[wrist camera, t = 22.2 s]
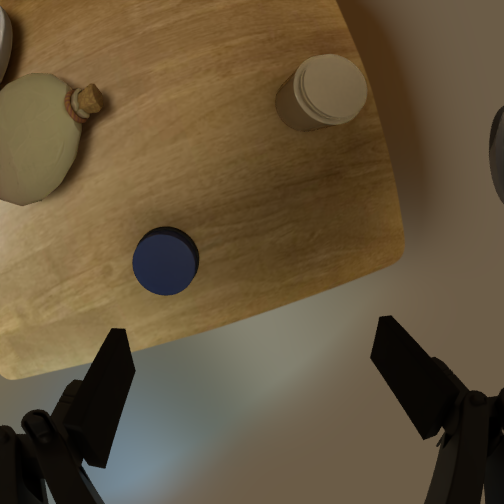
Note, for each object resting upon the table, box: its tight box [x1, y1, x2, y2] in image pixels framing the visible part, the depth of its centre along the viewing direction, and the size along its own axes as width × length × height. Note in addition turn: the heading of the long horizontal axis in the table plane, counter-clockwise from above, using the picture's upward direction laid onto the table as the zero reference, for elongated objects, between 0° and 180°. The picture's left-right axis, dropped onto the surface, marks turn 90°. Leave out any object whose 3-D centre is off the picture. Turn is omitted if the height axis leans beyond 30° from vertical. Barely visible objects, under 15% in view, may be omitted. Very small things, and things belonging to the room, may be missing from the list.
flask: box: [0, 73, 103, 206], centre depth 26 cm, size 9×16×18 cm
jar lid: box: [132, 230, 197, 295], centre depth 35 cm, size 8×8×2 cm
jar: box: [275, 54, 367, 132], centre depth 28 cm, size 7×7×11 cm
